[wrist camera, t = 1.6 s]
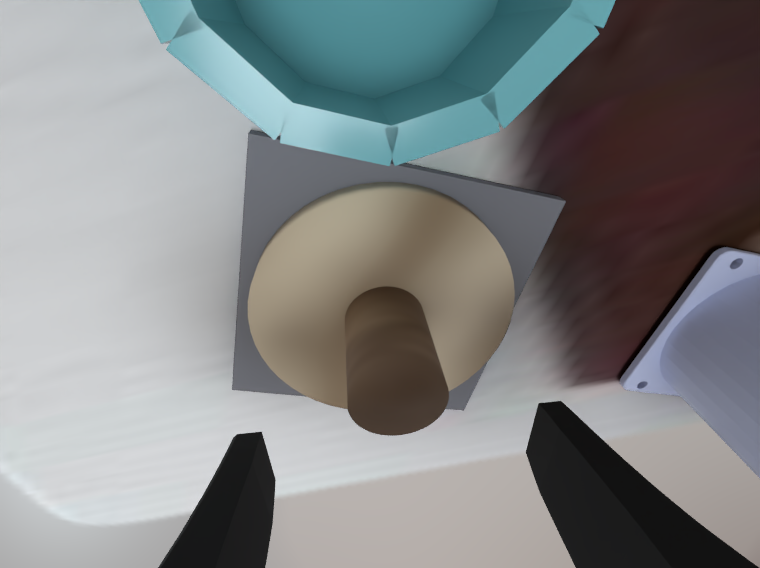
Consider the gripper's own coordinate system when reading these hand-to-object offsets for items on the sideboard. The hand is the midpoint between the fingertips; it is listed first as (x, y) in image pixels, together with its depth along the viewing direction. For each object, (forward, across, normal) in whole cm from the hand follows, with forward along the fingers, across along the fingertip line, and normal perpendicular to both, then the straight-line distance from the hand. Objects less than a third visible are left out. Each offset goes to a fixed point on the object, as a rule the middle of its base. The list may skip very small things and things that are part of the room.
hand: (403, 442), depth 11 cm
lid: (+6, 0, 0) cm, 6 cm away
